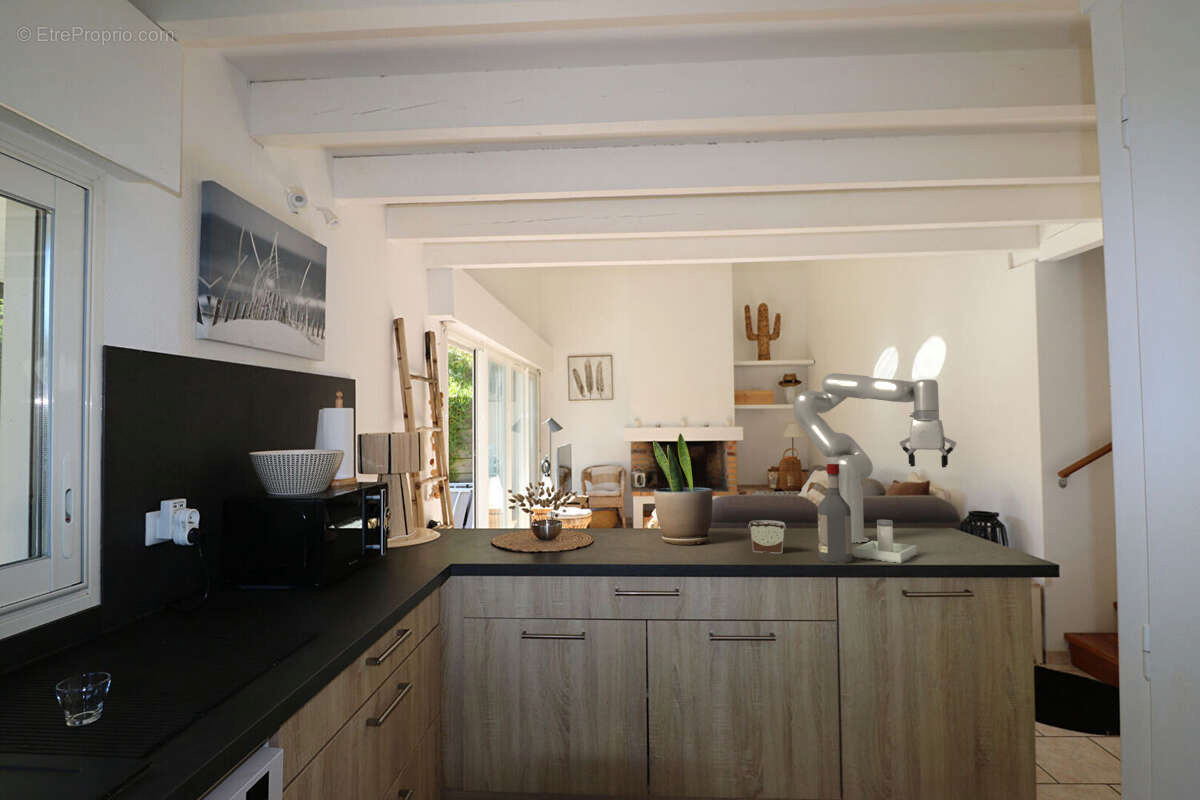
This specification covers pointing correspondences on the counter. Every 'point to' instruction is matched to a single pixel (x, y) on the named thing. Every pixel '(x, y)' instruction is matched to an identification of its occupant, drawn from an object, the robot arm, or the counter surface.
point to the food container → (767, 535)
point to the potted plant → (681, 500)
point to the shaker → (885, 535)
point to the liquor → (834, 522)
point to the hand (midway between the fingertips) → (928, 466)
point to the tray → (898, 555)
